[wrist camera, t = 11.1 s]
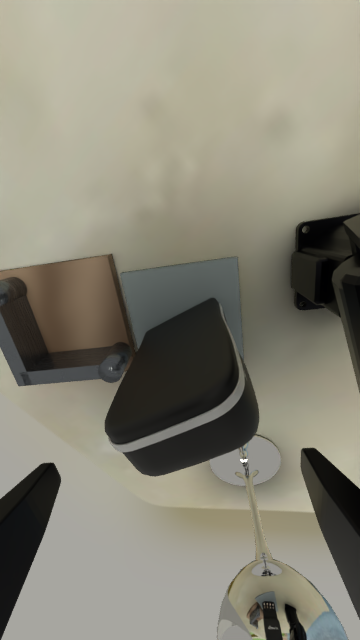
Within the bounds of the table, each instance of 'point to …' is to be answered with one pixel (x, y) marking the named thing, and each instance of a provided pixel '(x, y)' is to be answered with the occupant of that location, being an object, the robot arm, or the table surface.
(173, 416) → the battery charger
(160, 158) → the table surface
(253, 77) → the table surface
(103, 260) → the rail board
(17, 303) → the bent rail
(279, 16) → the table surface
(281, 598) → the wineglass
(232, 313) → the end mat
